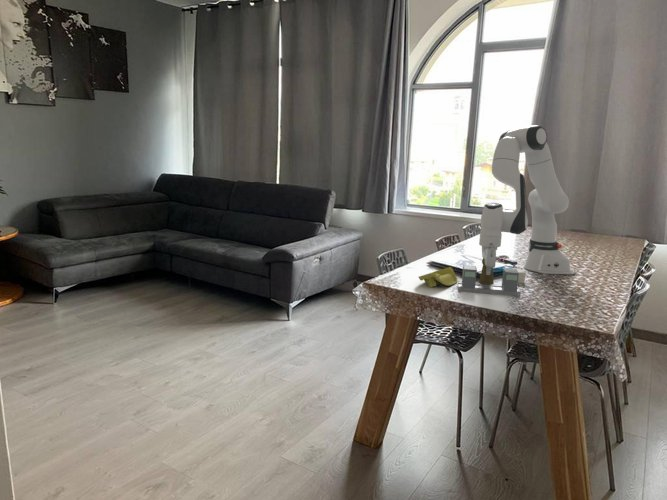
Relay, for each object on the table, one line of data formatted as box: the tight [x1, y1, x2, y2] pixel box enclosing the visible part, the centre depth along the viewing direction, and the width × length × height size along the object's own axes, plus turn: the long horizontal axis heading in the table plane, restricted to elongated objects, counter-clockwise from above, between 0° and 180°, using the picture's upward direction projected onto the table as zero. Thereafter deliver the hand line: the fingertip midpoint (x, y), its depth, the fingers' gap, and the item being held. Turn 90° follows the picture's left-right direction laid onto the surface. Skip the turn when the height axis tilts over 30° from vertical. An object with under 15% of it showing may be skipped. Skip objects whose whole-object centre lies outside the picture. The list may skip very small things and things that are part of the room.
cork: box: [478, 257, 495, 285], centre depth 212 cm, size 6×6×11 cm
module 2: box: [501, 267, 519, 293], centre depth 198 cm, size 5×7×8 cm
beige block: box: [516, 268, 526, 284], centre depth 216 cm, size 4×5×5 cm
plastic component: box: [418, 266, 458, 288], centre depth 209 cm, size 20×7×10 cm
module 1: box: [461, 264, 478, 289], centre depth 201 cm, size 5×7×8 cm
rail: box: [457, 281, 521, 297], centre depth 201 cm, size 24×7×2 cm, turn 78°
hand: (487, 272), depth 213 cm, fingers closed on cork, 5 cm apart
